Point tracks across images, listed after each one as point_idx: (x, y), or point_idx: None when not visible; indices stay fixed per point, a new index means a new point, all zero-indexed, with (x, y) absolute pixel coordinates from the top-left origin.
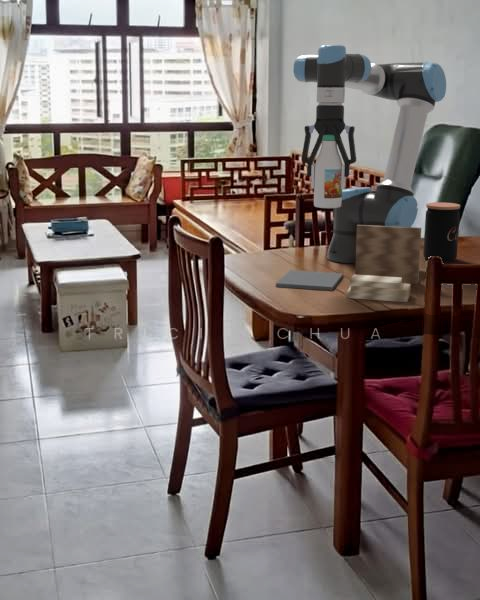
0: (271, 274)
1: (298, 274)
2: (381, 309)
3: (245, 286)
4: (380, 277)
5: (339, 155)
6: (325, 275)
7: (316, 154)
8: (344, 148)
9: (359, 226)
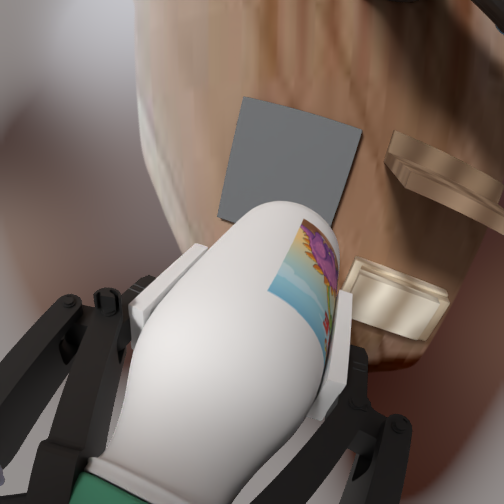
0: (208, 109)
1: (260, 138)
2: (370, 357)
3: (171, 211)
4: (402, 302)
5: (278, 449)
6: (319, 148)
7: (108, 359)
8: (308, 496)
9: (412, 189)
